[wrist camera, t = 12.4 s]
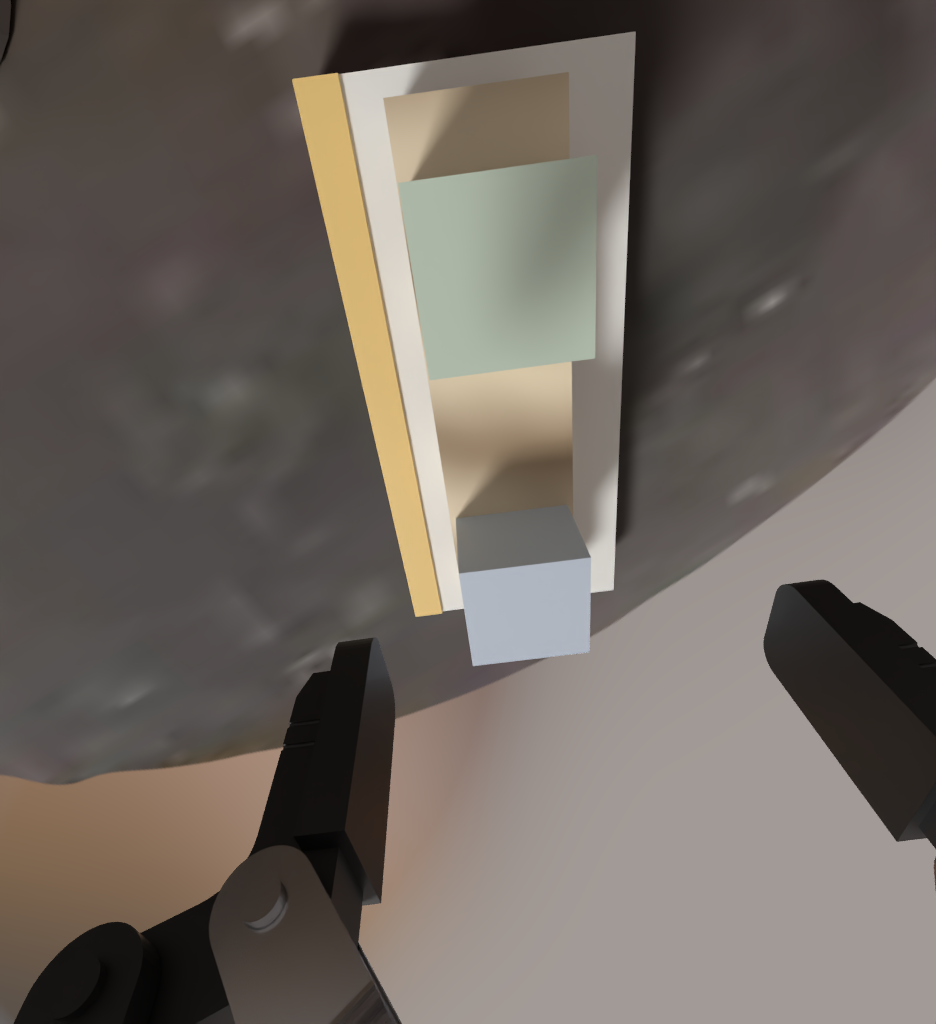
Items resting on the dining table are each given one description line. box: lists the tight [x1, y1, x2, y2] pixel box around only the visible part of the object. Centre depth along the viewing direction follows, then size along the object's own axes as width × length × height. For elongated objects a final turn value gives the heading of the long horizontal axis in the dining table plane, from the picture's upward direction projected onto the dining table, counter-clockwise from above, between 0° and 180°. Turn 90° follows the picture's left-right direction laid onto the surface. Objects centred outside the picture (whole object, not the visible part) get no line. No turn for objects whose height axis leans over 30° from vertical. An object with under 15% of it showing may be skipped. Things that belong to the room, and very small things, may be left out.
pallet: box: [383, 72, 573, 571], centre depth 22 cm, size 22×6×4 cm, turn 7°
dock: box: [292, 31, 636, 617], centre depth 25 cm, size 25×12×3 cm, turn 7°
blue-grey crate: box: [456, 505, 591, 666], centre depth 22 cm, size 5×5×4 cm
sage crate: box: [398, 155, 598, 380], centre depth 15 cm, size 5×5×4 cm
